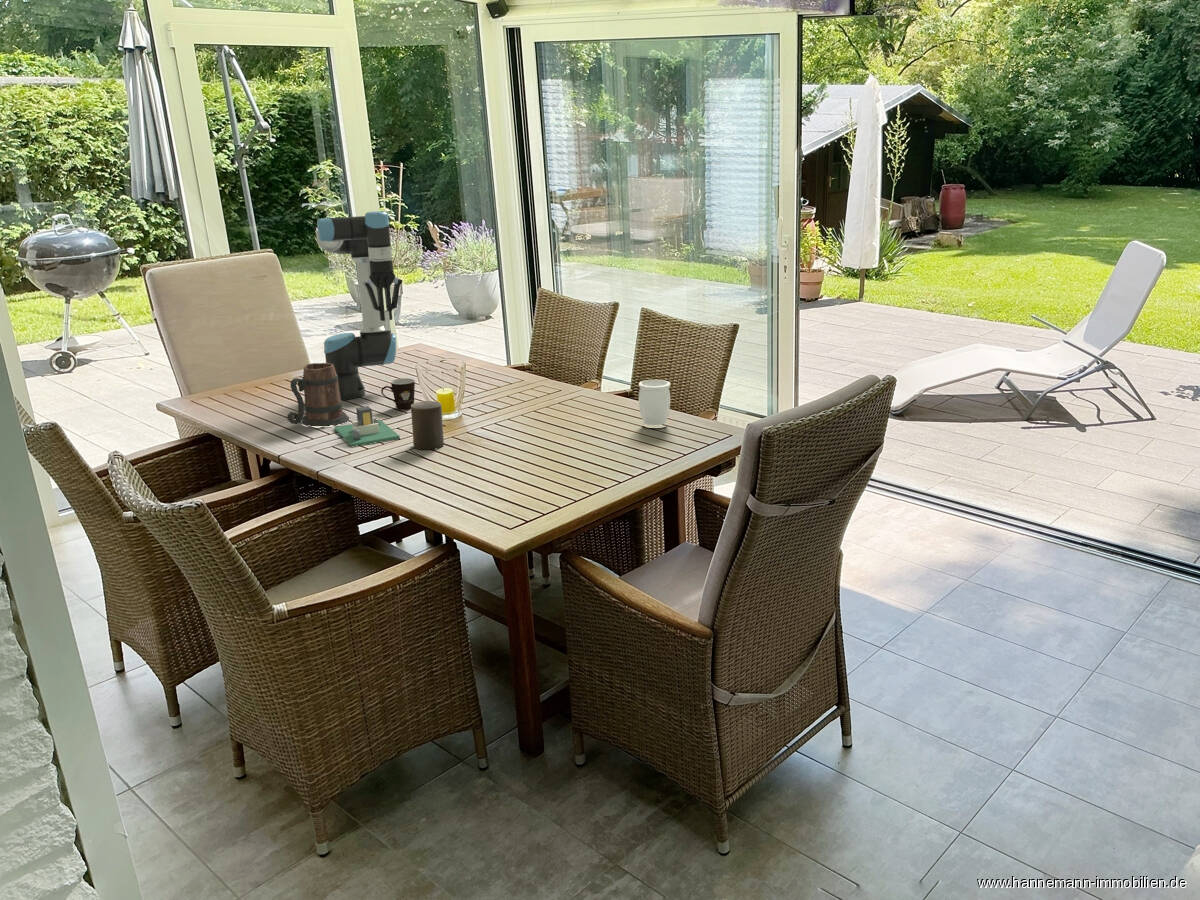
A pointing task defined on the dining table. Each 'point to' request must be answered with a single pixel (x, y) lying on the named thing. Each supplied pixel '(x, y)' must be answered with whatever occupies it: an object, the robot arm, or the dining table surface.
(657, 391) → the jar
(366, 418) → the plug
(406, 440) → the dining table surface
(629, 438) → the dining table surface
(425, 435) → the pillar candle
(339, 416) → the tankard
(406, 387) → the coffee mug
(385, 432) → the board
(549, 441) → the dining table surface
